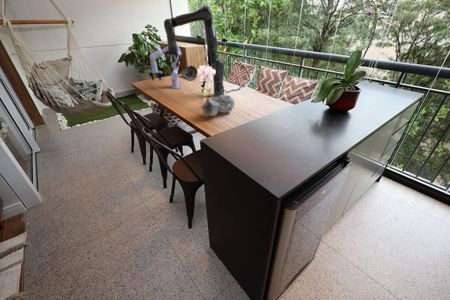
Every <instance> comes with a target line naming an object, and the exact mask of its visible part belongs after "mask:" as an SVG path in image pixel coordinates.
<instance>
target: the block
mask: <svg viewBox="0 0 450 300" xmlns="http://www.w3.org/2000/svg"><path fill="white" fill-rule="evenodd" d="M171 65H172V66H171ZM170 66H171V68H172V69H174V68H177V62H175V61H172V63H170Z"/></svg>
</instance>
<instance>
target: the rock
mask: <svg viewBox="0 0 450 300" xmlns="http://www.w3.org/2000/svg"><path fill="white" fill-rule="evenodd" d="M235 106H236V104H235V100H234V99H233V98H232V96H230V95H223V96H221V97H215V96H214V97H212V98H209V97H207V99H206V100H205V102H204V103H203V104H202V106H201V107H200V108H201V110H202V112H203V115H204V116H205V118H207V117H215V116H217V115H218V113H225V114H227V113H228V114H230V113H231V112H232V111H233V109H234V107H235Z"/></svg>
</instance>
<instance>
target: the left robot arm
mask: <svg viewBox="0 0 450 300" xmlns="http://www.w3.org/2000/svg"><path fill="white" fill-rule="evenodd" d="M167 52H169V50H168V45H167V46H165V47H164V48H162V49H156V51H154V52H152V53H151V54H149V60H150V66H151V70H148V71H147V72H148V74H149V76H150V78H151V80H152V81H154V80H155V77H154V74H157V76H158V80H159V81H162V75H163V71H162V70H159V69H158V64H157V63H158V62H157V61H156V59H158V58H160V57H163V54H165V53H167ZM177 53H178V54H179V55H181V56H182V51H181V48H180V47H179V45H178V44H177ZM177 58H178V60H179V57H178V56H177ZM174 62H176V60H175V59H174ZM180 63H181V61H180V62H179V66H178V67H177V68H172V69H173V70H172V72H171V74H170V76H171V89H172V90H173V89H180V83H179V77H178V73H179V72H178V71H179V67H180Z"/></svg>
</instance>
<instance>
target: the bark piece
mask: <svg viewBox="0 0 450 300" xmlns="http://www.w3.org/2000/svg"><path fill="white" fill-rule="evenodd" d="M197 70H198V69H197V67H196V66H193V65H189V66H186V67H185V68H184V69H183V70H182V71H179V72H178V73H179V74H180V76H181V77H183V78H185V79H186V80H188V81H193V80H195V79H197V78H198V72H197Z"/></svg>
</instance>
